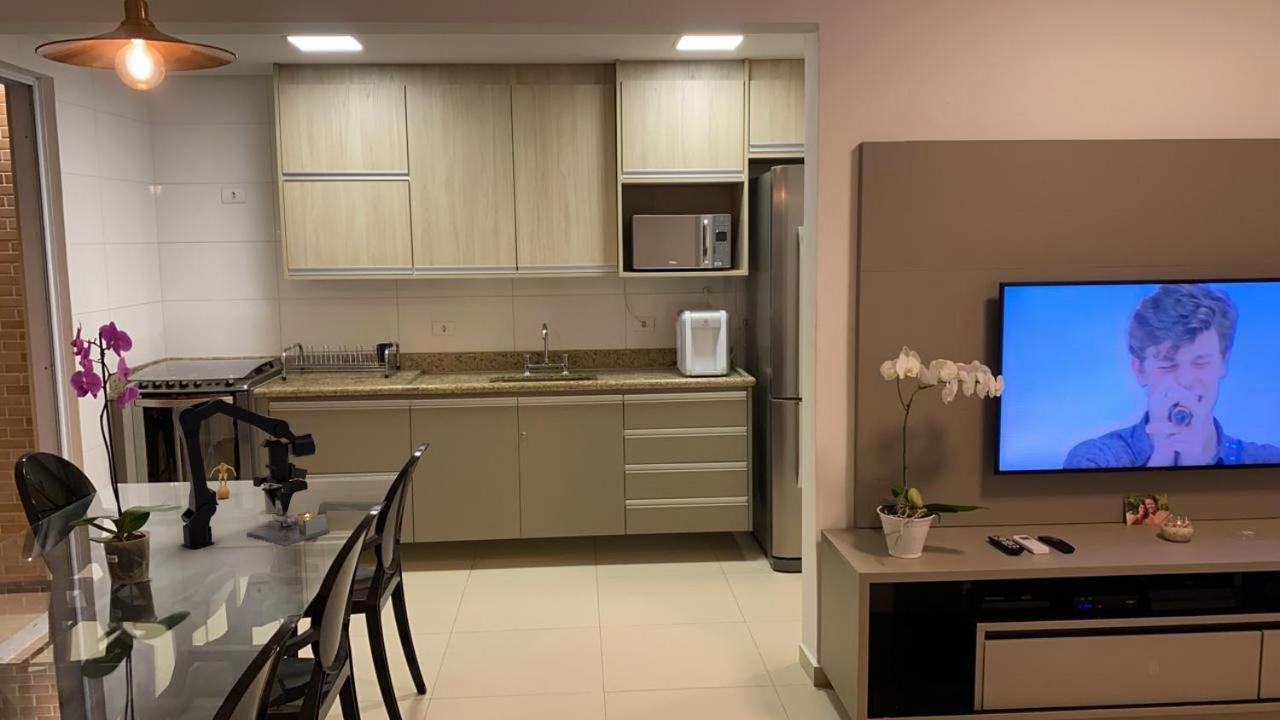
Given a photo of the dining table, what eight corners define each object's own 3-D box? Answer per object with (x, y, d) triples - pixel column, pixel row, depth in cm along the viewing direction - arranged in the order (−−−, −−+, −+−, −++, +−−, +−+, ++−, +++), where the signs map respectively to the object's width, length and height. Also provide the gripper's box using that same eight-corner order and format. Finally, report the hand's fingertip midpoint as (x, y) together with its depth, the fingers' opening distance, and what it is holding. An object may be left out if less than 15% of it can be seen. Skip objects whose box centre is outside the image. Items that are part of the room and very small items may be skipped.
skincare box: (288, 509, 302) (286, 472, 301) (285, 512, 298) (283, 475, 296) (268, 510, 301) (265, 473, 300) (264, 514, 296) (262, 476, 295)
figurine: (209, 500, 315) (206, 465, 313) (212, 496, 320) (210, 462, 319) (235, 498, 317) (233, 464, 315) (238, 494, 322) (236, 460, 321)
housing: (306, 533, 269) (305, 515, 269) (295, 531, 272) (294, 513, 272) (320, 529, 274) (319, 511, 273) (310, 527, 276) (309, 509, 276)
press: (285, 545, 262) (284, 526, 262) (247, 536, 272) (245, 517, 272) (329, 532, 275) (328, 513, 274) (291, 523, 285) (290, 505, 284)
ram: (287, 527, 275) (285, 499, 274) (272, 524, 279) (270, 496, 278) (298, 524, 278) (297, 496, 278) (284, 521, 282) (282, 493, 281)
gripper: (321, 458, 279) (324, 509, 281) (282, 452, 289) (286, 501, 291) (289, 465, 270) (292, 518, 271) (250, 458, 280) (253, 509, 282)
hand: (281, 511), depth 279 cm, fingers closed on ram, 3 cm apart
